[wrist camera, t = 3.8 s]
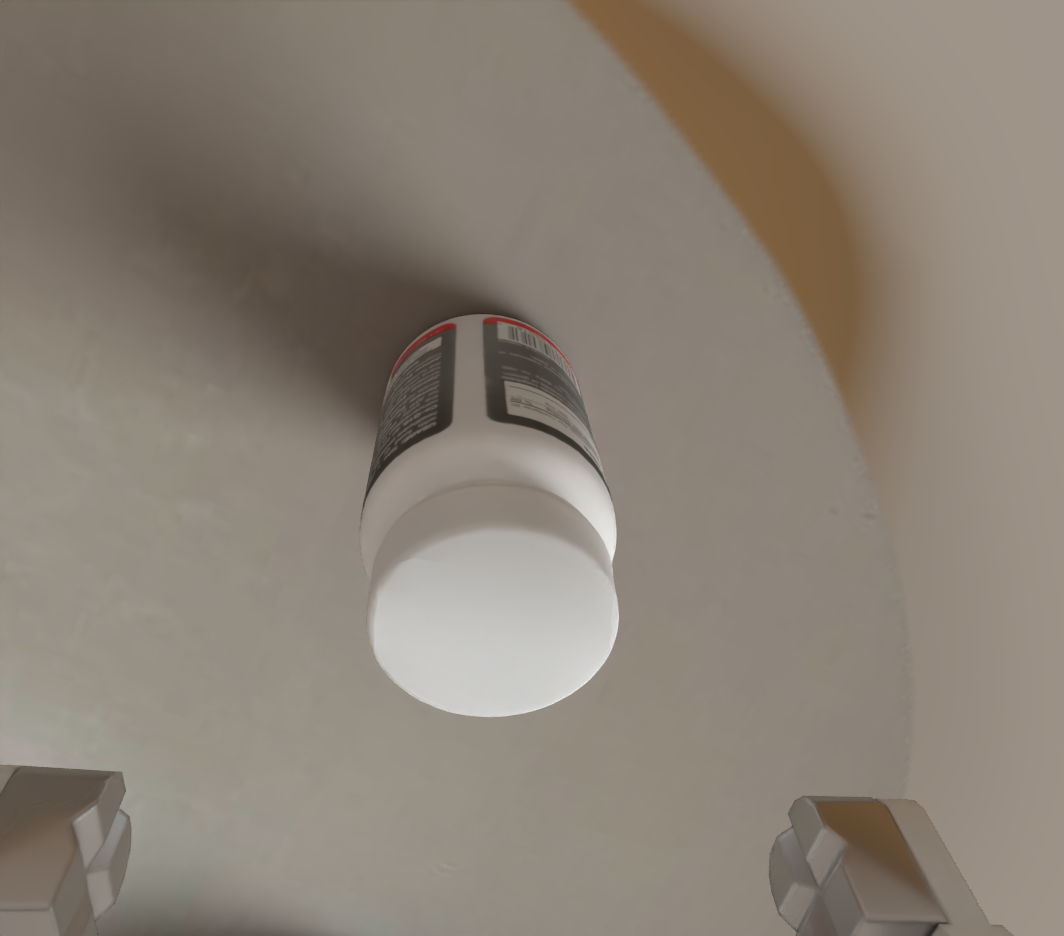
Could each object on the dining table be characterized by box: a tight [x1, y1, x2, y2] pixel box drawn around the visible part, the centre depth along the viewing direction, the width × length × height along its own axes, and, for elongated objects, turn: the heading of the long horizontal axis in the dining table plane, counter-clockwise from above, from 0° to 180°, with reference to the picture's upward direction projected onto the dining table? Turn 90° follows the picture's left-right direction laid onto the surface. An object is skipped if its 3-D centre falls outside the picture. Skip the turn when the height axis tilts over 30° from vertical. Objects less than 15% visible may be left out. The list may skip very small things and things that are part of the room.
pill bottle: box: [360, 314, 619, 717], centre depth 16 cm, size 5×5×8 cm
